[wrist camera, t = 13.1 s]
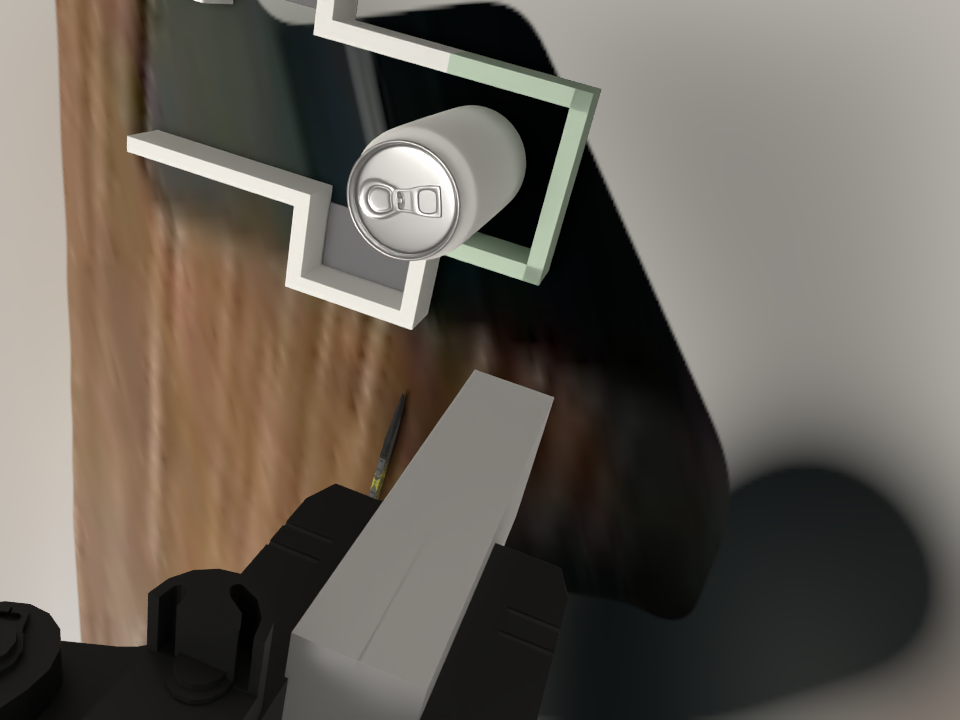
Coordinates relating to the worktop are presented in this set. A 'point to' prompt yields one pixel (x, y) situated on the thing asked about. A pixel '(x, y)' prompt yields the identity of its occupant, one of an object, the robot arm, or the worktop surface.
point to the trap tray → (347, 256)
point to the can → (435, 182)
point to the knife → (387, 451)
